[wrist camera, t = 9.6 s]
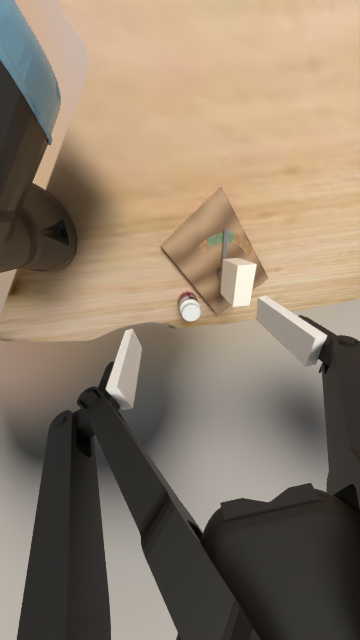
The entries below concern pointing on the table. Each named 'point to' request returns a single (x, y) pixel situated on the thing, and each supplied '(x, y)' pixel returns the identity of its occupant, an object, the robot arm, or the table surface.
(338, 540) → the robot arm
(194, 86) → the table surface
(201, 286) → the board
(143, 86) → the table surface
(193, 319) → the pill bottle
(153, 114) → the table surface
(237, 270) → the white boxy piece
